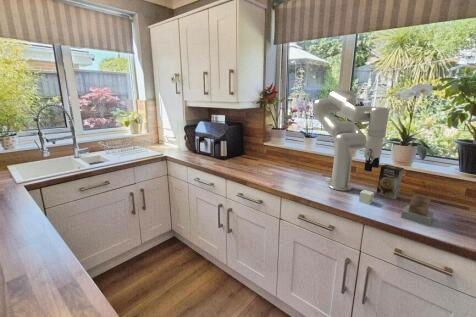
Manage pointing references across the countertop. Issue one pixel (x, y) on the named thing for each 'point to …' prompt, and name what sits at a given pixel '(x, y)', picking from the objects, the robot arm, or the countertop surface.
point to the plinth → (417, 216)
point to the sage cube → (366, 197)
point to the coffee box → (389, 181)
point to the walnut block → (419, 205)
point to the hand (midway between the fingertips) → (371, 169)
